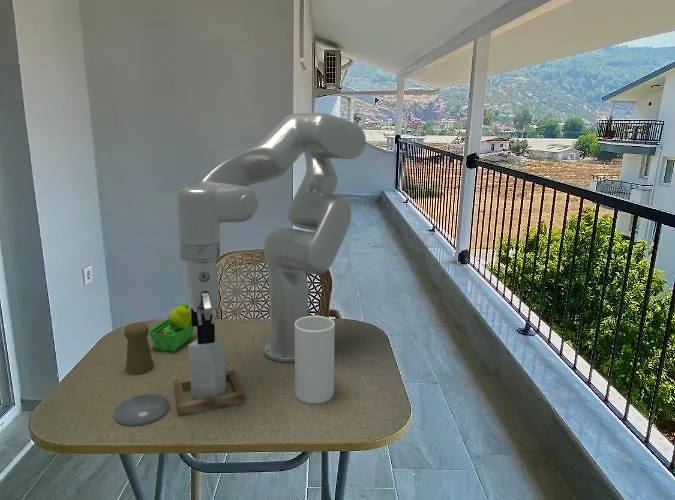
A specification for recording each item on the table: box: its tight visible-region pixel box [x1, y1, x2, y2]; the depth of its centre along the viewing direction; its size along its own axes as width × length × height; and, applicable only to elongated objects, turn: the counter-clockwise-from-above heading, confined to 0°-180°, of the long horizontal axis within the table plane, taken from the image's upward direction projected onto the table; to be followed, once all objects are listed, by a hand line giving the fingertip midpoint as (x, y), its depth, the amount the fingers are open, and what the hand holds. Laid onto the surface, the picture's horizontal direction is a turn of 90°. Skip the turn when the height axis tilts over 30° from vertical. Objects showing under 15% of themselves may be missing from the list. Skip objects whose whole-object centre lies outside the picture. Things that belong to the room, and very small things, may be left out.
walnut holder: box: [173, 369, 246, 417], centre depth 101 cm, size 13×11×2 cm
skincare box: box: [187, 339, 227, 400], centre depth 100 cm, size 6×4×12 cm
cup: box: [294, 315, 336, 404], centre depth 101 cm, size 8×8×16 cm
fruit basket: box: [148, 302, 195, 352], centre depth 124 cm, size 11×9×11 cm
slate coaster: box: [113, 393, 170, 427], centre depth 95 cm, size 10×10×1 cm
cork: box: [124, 321, 155, 376], centre depth 111 cm, size 6×6×11 cm
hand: (202, 333), depth 97 cm, fingers open, 9 cm apart
